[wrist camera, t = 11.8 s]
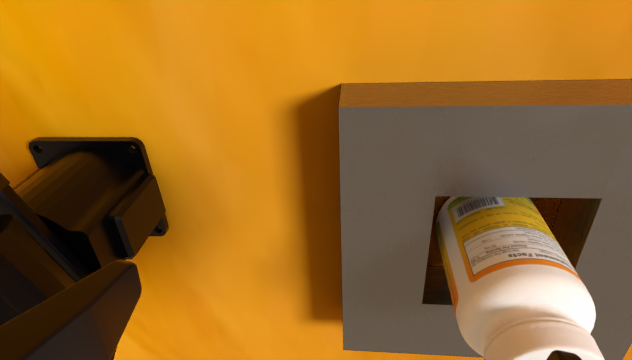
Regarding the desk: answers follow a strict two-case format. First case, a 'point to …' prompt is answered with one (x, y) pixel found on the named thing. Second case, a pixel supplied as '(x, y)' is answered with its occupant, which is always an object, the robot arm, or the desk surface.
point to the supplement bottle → (512, 281)
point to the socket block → (478, 181)
